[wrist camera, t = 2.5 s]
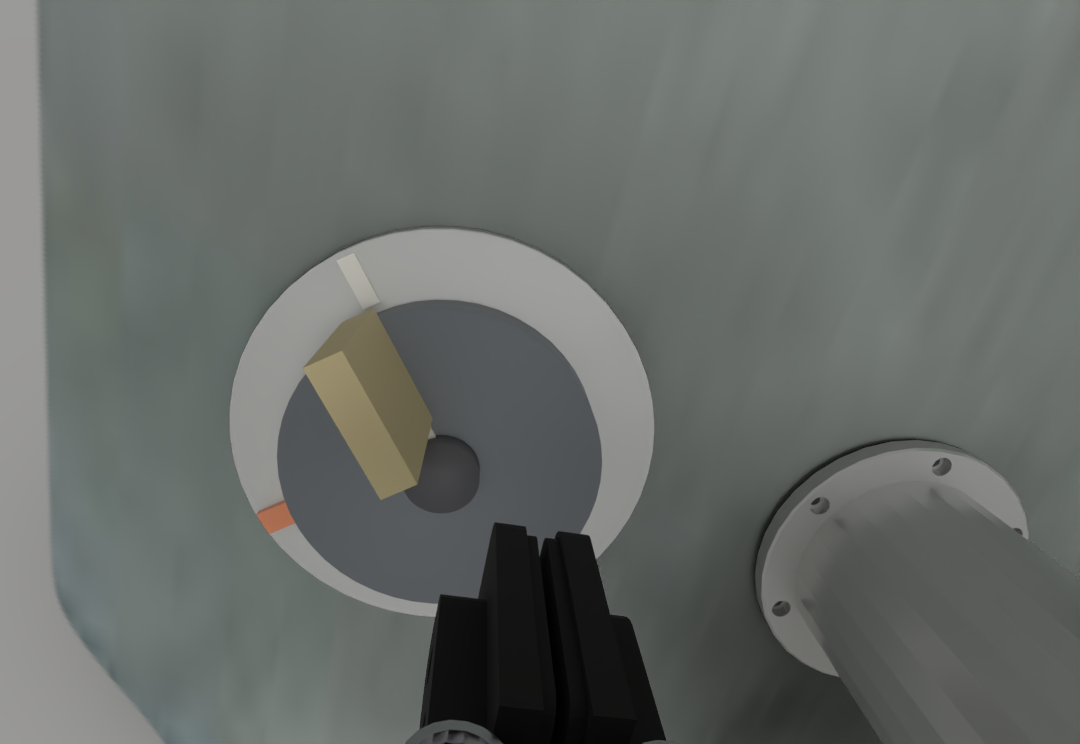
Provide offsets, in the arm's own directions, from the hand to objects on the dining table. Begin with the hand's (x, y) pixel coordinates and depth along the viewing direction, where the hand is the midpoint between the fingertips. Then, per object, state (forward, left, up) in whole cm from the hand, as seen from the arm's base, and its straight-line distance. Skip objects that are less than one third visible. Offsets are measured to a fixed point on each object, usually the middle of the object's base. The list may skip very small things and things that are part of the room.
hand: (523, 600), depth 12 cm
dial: (-1, +5, -15) cm, 16 cm away
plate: (-1, +5, -17) cm, 17 cm away
